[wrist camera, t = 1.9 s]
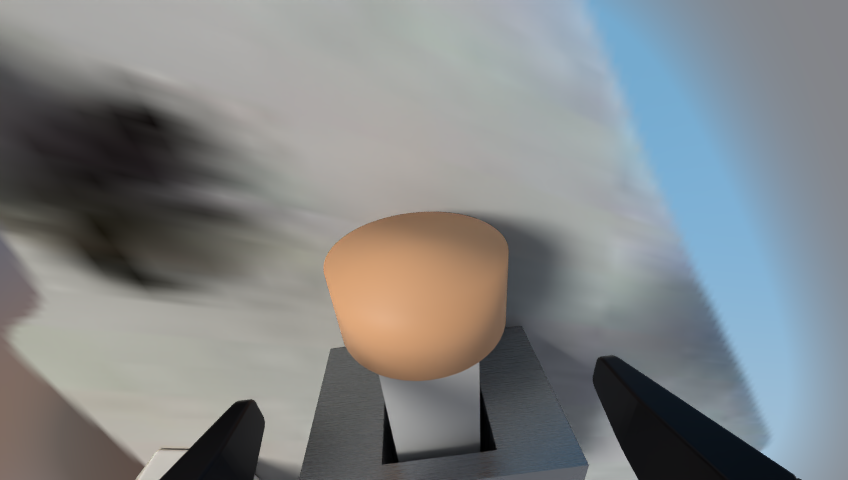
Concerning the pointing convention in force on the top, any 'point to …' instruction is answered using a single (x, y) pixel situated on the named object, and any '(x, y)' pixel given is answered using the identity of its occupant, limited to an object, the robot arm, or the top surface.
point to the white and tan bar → (423, 321)
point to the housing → (453, 475)
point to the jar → (162, 464)
